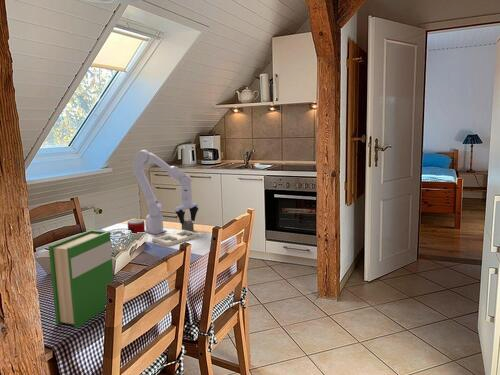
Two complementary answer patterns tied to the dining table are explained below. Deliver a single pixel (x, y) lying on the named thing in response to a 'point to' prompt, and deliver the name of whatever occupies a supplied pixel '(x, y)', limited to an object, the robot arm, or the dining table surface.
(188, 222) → the plug
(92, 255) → the hardback book
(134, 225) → the canned food
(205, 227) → the dining table surface
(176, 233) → the socket plate
